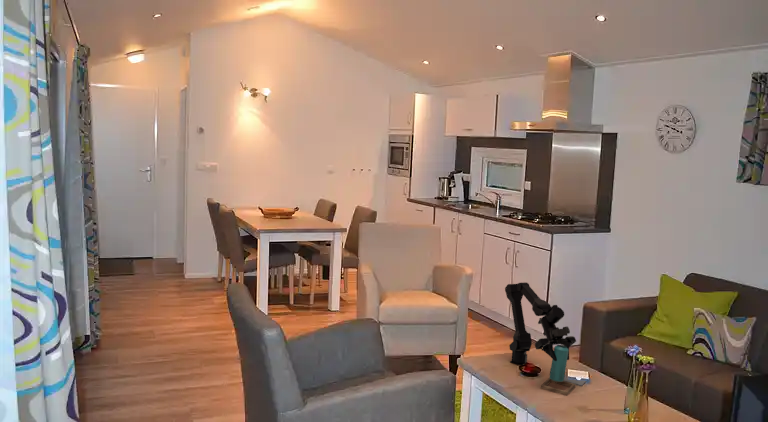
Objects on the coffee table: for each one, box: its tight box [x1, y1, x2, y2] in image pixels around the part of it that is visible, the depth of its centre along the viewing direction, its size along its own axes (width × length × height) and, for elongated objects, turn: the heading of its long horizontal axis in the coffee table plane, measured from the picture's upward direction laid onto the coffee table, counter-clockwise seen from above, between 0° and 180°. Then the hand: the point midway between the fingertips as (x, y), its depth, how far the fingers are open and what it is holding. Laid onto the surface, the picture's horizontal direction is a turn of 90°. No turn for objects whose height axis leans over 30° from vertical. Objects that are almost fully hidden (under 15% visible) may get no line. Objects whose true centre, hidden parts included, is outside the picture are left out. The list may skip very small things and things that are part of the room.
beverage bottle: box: [549, 337, 570, 382], centre depth 290 cm, size 6×7×20 cm
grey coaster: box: [563, 374, 587, 387], centre depth 301 cm, size 10×10×1 cm
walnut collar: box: [539, 376, 576, 396], centre depth 291 cm, size 12×12×2 cm
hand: (562, 360), depth 288 cm, fingers closed on beverage bottle, 6 cm apart
